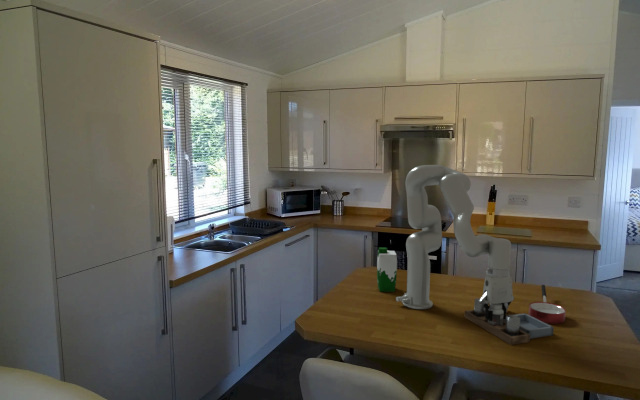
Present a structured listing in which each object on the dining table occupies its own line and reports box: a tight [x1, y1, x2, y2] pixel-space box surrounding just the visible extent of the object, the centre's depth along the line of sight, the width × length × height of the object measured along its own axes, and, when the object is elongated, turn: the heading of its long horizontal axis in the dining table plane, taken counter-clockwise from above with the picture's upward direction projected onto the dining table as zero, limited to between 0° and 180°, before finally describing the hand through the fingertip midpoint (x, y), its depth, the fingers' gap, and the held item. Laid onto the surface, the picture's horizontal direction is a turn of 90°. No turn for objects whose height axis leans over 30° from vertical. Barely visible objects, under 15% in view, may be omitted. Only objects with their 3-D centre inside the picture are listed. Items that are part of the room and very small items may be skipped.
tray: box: [503, 312, 555, 340], centre depth 169 cm, size 11×14×3 cm
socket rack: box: [464, 309, 531, 346], centre depth 169 cm, size 8×26×2 cm, turn 18°
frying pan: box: [528, 284, 567, 325], centre depth 189 cm, size 32×13×6 cm, turn 163°
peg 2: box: [506, 314, 520, 337], centre depth 160 cm, size 4×4×8 cm
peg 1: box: [473, 297, 486, 317], centre depth 177 cm, size 4×4×8 cm
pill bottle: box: [488, 303, 504, 326], centre depth 169 cm, size 5×5×10 cm
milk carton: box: [376, 246, 398, 293], centre depth 212 cm, size 9×9×20 cm
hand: (495, 318), depth 169 cm, fingers closed on pill bottle, 5 cm apart
